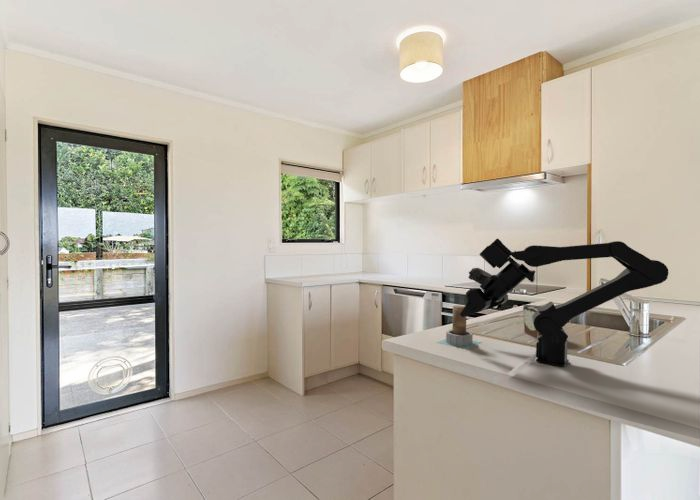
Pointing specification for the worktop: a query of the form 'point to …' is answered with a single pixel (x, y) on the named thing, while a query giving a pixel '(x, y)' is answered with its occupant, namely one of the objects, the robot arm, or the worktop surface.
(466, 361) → the worktop surface
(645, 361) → the worktop surface
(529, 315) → the food container
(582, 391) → the worktop surface
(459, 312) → the walnut peg
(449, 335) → the ring stand
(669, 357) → the worktop surface
